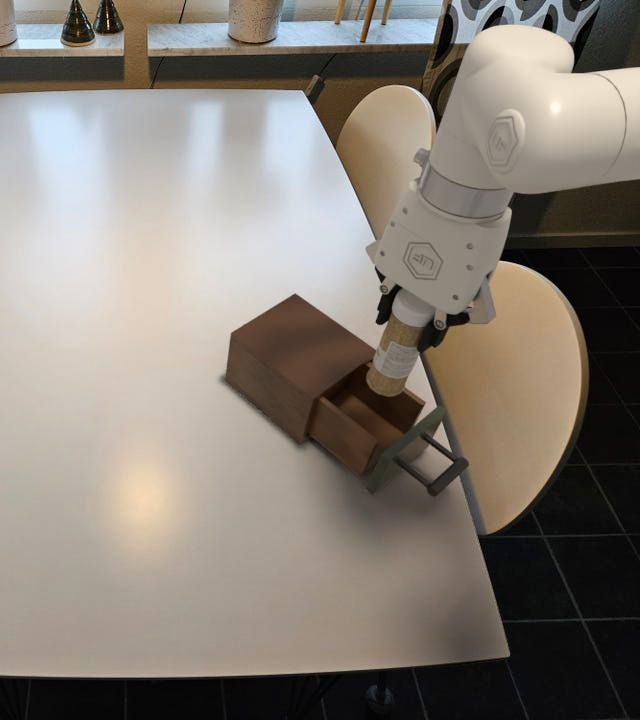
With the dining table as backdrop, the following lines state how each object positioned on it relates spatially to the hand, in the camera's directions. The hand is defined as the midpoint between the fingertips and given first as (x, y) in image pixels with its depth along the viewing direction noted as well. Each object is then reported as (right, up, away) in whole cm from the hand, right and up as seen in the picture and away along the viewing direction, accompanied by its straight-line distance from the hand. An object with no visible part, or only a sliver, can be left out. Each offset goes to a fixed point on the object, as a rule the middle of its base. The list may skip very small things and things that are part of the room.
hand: (406, 331), depth 69 cm
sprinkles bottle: (0, -6, +7) cm, 9 cm away
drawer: (+2, -15, +14) cm, 21 cm away
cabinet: (-8, -7, +23) cm, 25 cm away
